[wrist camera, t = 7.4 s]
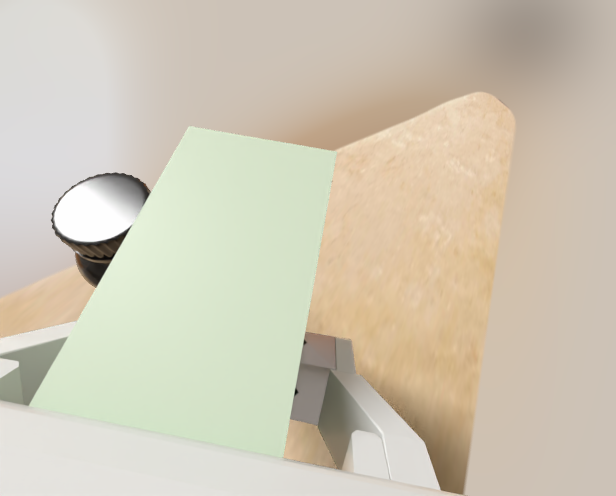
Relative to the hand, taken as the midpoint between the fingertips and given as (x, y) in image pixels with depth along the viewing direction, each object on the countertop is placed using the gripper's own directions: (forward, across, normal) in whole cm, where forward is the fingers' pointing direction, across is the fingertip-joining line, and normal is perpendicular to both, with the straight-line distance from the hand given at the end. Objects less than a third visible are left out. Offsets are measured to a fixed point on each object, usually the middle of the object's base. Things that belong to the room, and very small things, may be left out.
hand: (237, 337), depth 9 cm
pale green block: (+5, 0, +4) cm, 6 cm away
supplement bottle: (+15, +9, +7) cm, 19 cm away
